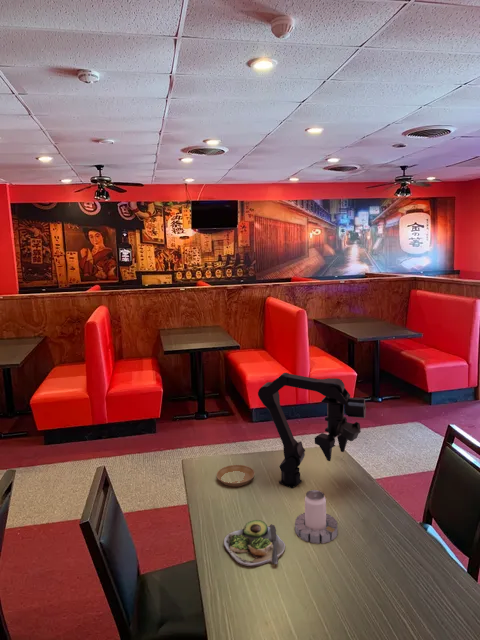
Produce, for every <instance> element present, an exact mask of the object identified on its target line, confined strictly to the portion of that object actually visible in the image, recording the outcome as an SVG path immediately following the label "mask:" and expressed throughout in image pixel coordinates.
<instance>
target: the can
mask: <svg viewBox="0 0 480 640" xmlns="http://www.w3.org/2000/svg"><path fill="white" fill-rule="evenodd" d="M326 501H327V499H326V497H325V493H324V492H323V491H321V490H317V489H311V490H308V491H307V492H306V493H305V497H304V513H305V526H306V527H307V528H309V529H311V530H318V531H319V530H323V529H325V528H327V527H326V514H327V502H326Z"/></svg>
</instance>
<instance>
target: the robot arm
mask: <svg viewBox="0 0 480 640" xmlns="http://www.w3.org/2000/svg"><path fill="white" fill-rule="evenodd" d="M284 387H291V388H296V389H302V390H307V391H311V392H312V391H313V392H316V393H319V394H320V395H322V396H324V397H323V398H322V399H321V401H320V402H321V403H322V404H327V405H326V408H327V409H326V410H327V413H326V414H327V416H325V418H324V421H326V422H327V424H326V425H327V426H326V428H324V432H327V433H328V434H327V433H324V432H321V433H320V434H318V435H316V436H315V437H314V444H315V445H317V446H319V448H320V450H321V452H323V455H324V456H325V459H326V461H328V462H331V460H332V451H333V448H334V447H335V446H336V438H337V442H338V447H339V450H340V452H341V453H344V452H345V449H346V447H347V443H348V442H353V441H355V440H356V439H357V438H358V436H359V434H360V433H361V432H362V431H361V423H360V422H358V421H355V422H354V423H353V422H349V421H348V419H347V417H349V418H360V419H365V418H366V414H367V413H366V412H367V405H366V398H364V397H351V393H349V391H348V390H347V389H346V386H345V383H344V381H343V380H341V379H340V378H337V377H335V378H333V377H331V378H315V377H309V376H305V375H297V374H292V373H288V372H282V374H281V375H279V376H278V377H277V378H276V379H274V380H273V381H267V382H266V383H264V385H262V386H261V387H260V388H259V389H258V392H257V396H258V398H259V400H260V402H261V403H262V404H263V406H264V407H265V408H266V409H267V410H268V411H269V414H270V416H271V418H272V421H273V424H274V426H275V428H276V431H277V433H278V436H279V438H280V440H281V443H282V446H283V447H282V449H283V457H284V458H283V460H282V461H281V463H280V465H279V469H280V471H281V472H280V473H281V474H280V475H281V479H280V480H279V481H278V483H279V484H281V485H283V486H285V487H289V488H290V489H294V488H295V487H297V486H298V485H300V484H301V483H302V482H303V480H302V479H301V472H300V467H299V466H300V465H301V463H302V462H303V460H304V458H305V456H306V454H305V452H306V449H305V448H304V446H303V442H302V441H301V440H300V441H297V440H296V439H295V437H294V435H293V433H292V430H291V428H290V425H289V422H288V421H287V418H286V415H285V413H284V411H283V408H282V405H281V402H280V401H281V400H280V399H281V398H280V392H279V391H280V390H281V389H282V388H284ZM345 415H346V416H347V417H345Z"/></svg>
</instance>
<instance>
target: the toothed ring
mask: <svg viewBox="0 0 480 640" xmlns="http://www.w3.org/2000/svg"><path fill="white" fill-rule="evenodd" d="M294 532H295V534H296V535H297V537H298V538H300V540H302V541H305V542H307V543H309V542H310V544H317V545H318V544H319V545H320V544H325V543H326V544H327V543H330V542H331V541H333V540H334V539H336V538H337V537H338V520H337V519H335V517H333V516H332V515H331V514H330V513H329V514H328V513H326V528H325V529H323V530H319V531H318V530H311V529H309V528H307V527H306V526H305V512H303V513H300V514H298V516H297V517H296V518H295V521H294Z"/></svg>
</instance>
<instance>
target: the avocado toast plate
mask: <svg viewBox="0 0 480 640" xmlns="http://www.w3.org/2000/svg"><path fill="white" fill-rule="evenodd" d="M243 527H244V528H242V529H238V530H234V531H232V532H229V533H227V535H225V536H224V539H223V546H224V549H225V550H226V551H227V552H228V554H229V555H230V556H231V558H232V559H234V560H235V561H236V562H237V563H238V564H240V565H243V566H245V567H246V566H247V567H259V566H263V565H265V564H268V563H271V564H272V565H277V564H279V557H280V556H281V555H283V554H284V552H285V549H286V544H285V542H284V540H282V539H281V538H280V536H279V535H278V534H277V533H276V532H277V528H276V526H275V525H274V524H269V526H268V525H267V523H266V522H265V521H263V520H260V519H253V520H250V521H248V522H246V523H245V525H244V526H243ZM245 553H249V554H251V555H252V556H253V557H254V558H255V559H253V560H246V559H243V558H241V557H240V556H239V555H238V554H245Z"/></svg>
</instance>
